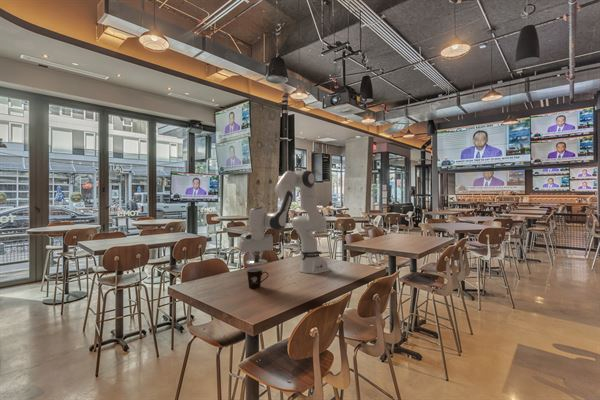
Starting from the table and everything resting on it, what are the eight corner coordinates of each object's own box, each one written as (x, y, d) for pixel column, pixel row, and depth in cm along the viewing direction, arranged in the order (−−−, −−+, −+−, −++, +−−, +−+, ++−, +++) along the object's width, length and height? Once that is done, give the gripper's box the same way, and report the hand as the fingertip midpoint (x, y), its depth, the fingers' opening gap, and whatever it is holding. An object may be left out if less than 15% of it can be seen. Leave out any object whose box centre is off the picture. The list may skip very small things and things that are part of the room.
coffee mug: (244, 288, 172) (244, 271, 171) (251, 284, 180) (251, 267, 180) (262, 290, 168) (262, 272, 168) (269, 286, 176) (269, 269, 176)
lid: (262, 259, 182) (262, 251, 182) (270, 263, 171) (270, 255, 171) (243, 261, 176) (243, 253, 176) (250, 265, 165) (250, 257, 165)
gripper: (270, 233, 181) (270, 256, 181) (237, 235, 171) (238, 259, 171) (275, 234, 176) (275, 258, 176) (241, 236, 166) (241, 261, 166)
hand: (256, 258), depth 173 cm, fingers closed on lid, 3 cm apart
